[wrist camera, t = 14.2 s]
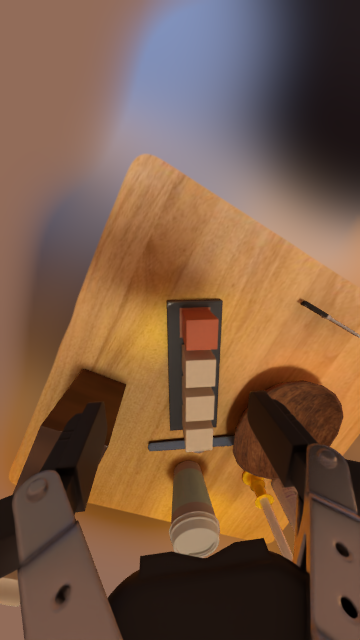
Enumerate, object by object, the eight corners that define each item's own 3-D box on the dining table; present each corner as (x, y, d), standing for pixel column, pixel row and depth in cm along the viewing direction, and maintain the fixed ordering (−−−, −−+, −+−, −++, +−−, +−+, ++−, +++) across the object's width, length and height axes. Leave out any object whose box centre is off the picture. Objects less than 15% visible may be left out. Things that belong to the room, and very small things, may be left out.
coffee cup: (166, 486, 45) (168, 563, 33) (168, 455, 42) (171, 527, 31) (204, 484, 46) (219, 559, 34) (208, 455, 43) (225, 524, 32)
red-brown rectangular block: (208, 334, 34) (217, 349, 28) (182, 335, 34) (186, 350, 28) (208, 309, 33) (218, 319, 27) (181, 310, 32) (186, 320, 27)
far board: (170, 424, 40) (171, 459, 33) (166, 300, 33) (168, 310, 26) (214, 421, 41) (225, 455, 34) (220, 299, 34) (235, 308, 27)
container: (267, 485, 47) (313, 583, 33) (278, 471, 46) (331, 565, 32) (282, 491, 48) (333, 588, 34) (294, 477, 47) (351, 571, 33)
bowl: (341, 388, 41) (364, 404, 37) (283, 466, 46) (297, 489, 41) (262, 352, 38) (277, 365, 33) (207, 441, 42) (213, 464, 37)
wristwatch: (243, 445, 43) (245, 449, 42) (148, 453, 42) (148, 457, 41) (245, 429, 42) (247, 433, 41) (147, 436, 40) (147, 440, 39)
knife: (357, 334, 38) (368, 338, 36) (355, 338, 39) (365, 342, 37) (299, 299, 35) (307, 301, 33) (296, 302, 36) (304, 304, 34)
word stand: (90, 456, 41) (32, 613, 22) (50, 444, 39) (-47, 602, 21) (126, 384, 37) (91, 502, 19) (83, 368, 35) (0, 480, 17)
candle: (237, 476, 46) (273, 580, 31) (254, 462, 45) (300, 561, 30) (251, 486, 47) (293, 591, 32) (268, 473, 46) (319, 573, 31)
